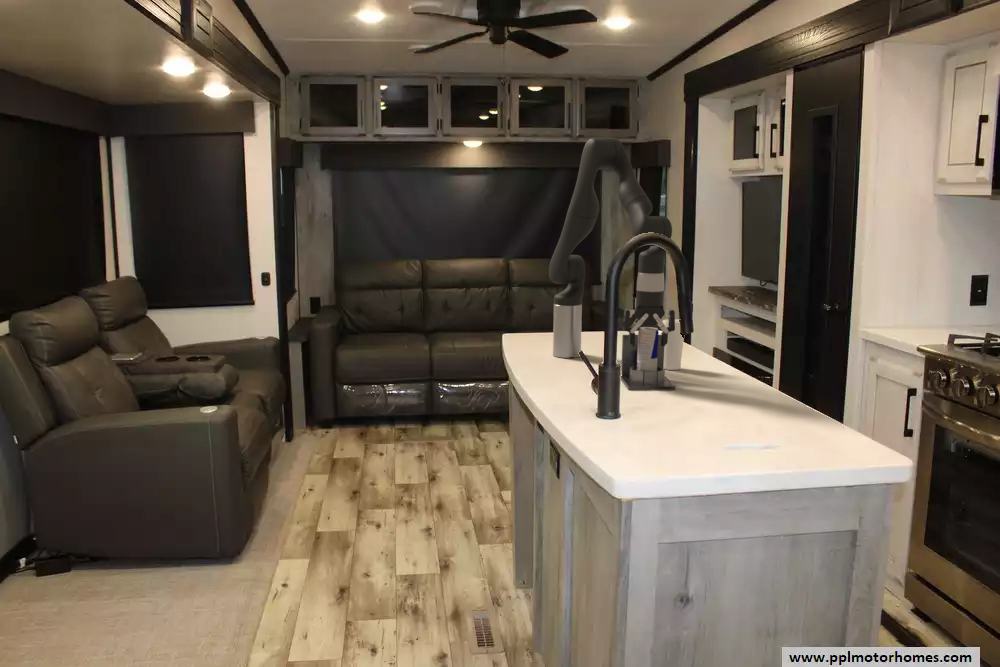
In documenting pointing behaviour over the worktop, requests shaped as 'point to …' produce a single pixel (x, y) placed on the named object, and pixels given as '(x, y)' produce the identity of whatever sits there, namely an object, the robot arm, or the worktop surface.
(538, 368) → the worktop surface
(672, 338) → the white tapered cylinder
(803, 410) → the worktop surface
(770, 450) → the worktop surface
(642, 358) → the beverage can
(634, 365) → the cup bracket
